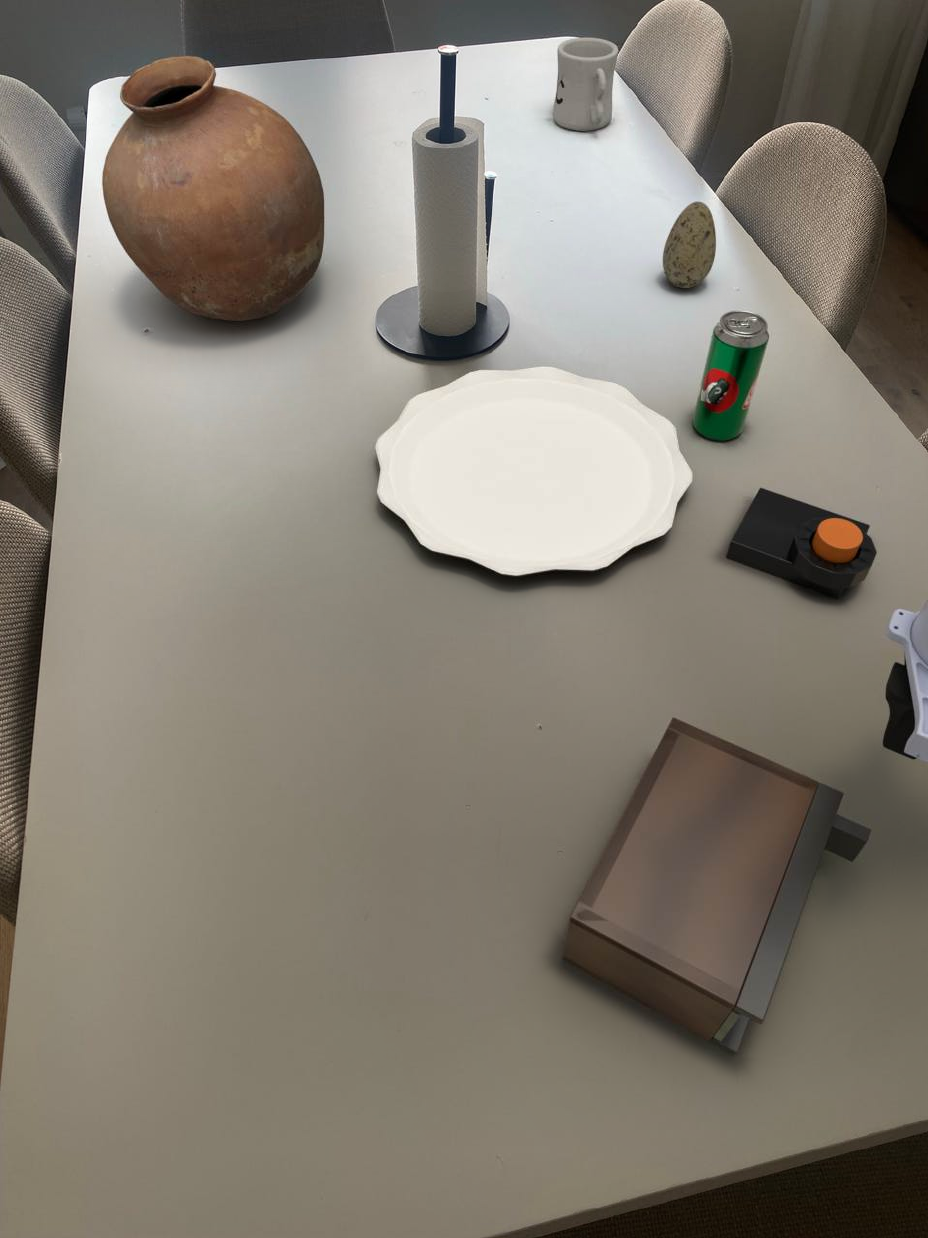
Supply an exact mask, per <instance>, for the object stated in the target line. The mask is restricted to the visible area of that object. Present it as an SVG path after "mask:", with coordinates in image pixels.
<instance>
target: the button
mask: <svg viewBox="0 0 928 1238" xmlns="http://www.w3.org/2000/svg"><path fill="white" fill-rule="evenodd" d="M862 540H863V535H862V532H861V530H860V529H859V528H858V527H857V526H856V525H855V524H853V523H852V522H850V521H847V520H844V519H839V518H830V519H826V520H824V521H822V522H821V523H820V524H819V526H818V528H817V531H816V533H815V536H814V538H813V541H812V547H813V550H814V552H815V553H816V554H817V555H818V556H820V557H821V558H823V559H825V560H828V561H831V562H834V563H846V562H849V561H851V560H852V559H853V558H854V557H855V555H856V553H857V551H858V549H859V547H860V545H861V543H862Z"/></svg>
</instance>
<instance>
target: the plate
mask: <svg viewBox="0 0 928 1238" xmlns="http://www.w3.org/2000/svg"><path fill="white" fill-rule="evenodd" d="M374 449H375V452H376V457H377V461H378V464H379V469H380V471H379V477H378V484H377V489H376V495H377V497H378V499H379V501H380V504H381V505H382V506H384V507H385V508H386V509H388V510H389V511H390V512H392V513H393V514H394V515H395V516H397V517H398V518H399V519H401V521H403V522H404V523H405V525H406V526H407V527H408V529H409V530H410V532H411V533H412V534H413V536H414V538H415V539H416V540H417V542H418V543H419V545H420V546H421V547H423V548H425V549H426V550H428V551H430V552H431V553H435V554H439V555H443V556H448V557H454V558H457V559H461V560H467V561H470V562H472V563H474V564H477V565H478V566H480V567H482V568H485V569H487V570H489V571H492V572H494V573H495V574H498V575H500V576H505V577H514V578H519V577H525V576H530V575H536V574H541V573H547V572H552V571H560V572H561V571H562V572H597V571H600V570H604V569H607V568H609V567H610V566H611V565H612V564H614V563H615V562H616V561H618V560H619V559H620V558H622V557H623V556H624V555H626V554H627V553H629V552H630V551H631V550H632V549H634V548H638V547H640V546H643V545H645V544H648V543H650V542H653V541H654V540H657V539H659V538H662V537H664V536H665V535H666V534H667V533H668V532H669V531H670V530H671V529H672V527H673V524H674V519H675V515H676V510H677V506H678V503H679V501H680V500H681V499H682V497H683V496H684V494H685V493H686V492H687V490H688V489H689V487H690V486H691V484H692V483H693V470H692V469H691V467H690V466H689V464H688V463H687V460H686V458H685V457H684V456H683V454H682V452H681V450H680V446H679V440H678V434H677V428H676V426H675V425H674V423H672V422H671V421H670V419H668V418H666V417H664V416H663V415H661V414H659V413H657V412H656V411H654V410H652V409H651V408H649V407H647V406H646V405H644V404H643V403H642V402H641V401H640V400H638V399H637V398H636V396H634V395H633V394H632V392H630V391H629V390H628V389H627V388H626V387H624V386H622V385H620V384H618V383H615V382H611V381H606V380H602V379H601V380H600V379H594V378H589V377H583V376H580V375H578V374H574V373H573V372H569V371H567V370H564V369H560V368H558V367H555V366H554V367H553V366H543V365H542V366H534V367H529V368H521V369H513V370H509V369H507V370H506V369H505V370H502V369H501V370H500V369H499V370H498V369H479V370H474V371H470V372H468V373H466V374H464V375H463V376H461V377H459V378H457V379H455V380H453V381H452V382H450V383H448V384H446V385H443V386H441V387H437V388H434V389H431V390H428V391H425V392H421V393H418V394H416V395H415V396H413V397H412V398H410V399H409V400H408V401H407V403H406V405H405V407H404V408H403V410H402V412H401V413H400V415H399V417H398V419H397V420H396V421H395V422H394V423H393V424H392V425H391V426H390V427H389V428H388V429H387V430H385V431H384V432H383V433H382V434H381V435H380V436H379V437H378V438H377V441H376V444H375V445H374Z"/></svg>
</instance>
